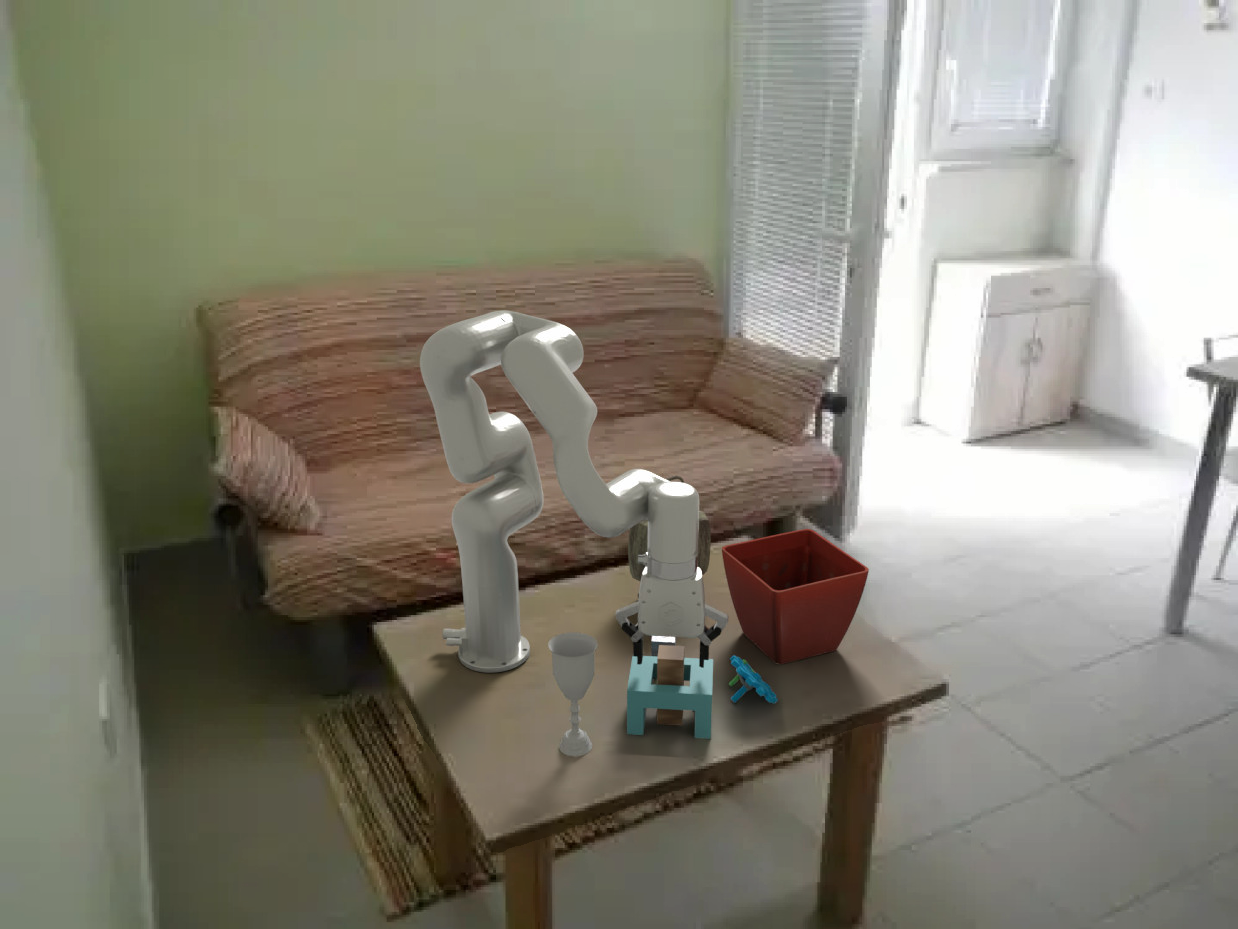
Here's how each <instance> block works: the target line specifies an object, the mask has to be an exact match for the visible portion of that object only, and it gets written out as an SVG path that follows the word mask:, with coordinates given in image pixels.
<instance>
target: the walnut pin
mask: <svg viewBox="0 0 1238 929" xmlns="http://www.w3.org/2000/svg"><path fill="white" fill-rule="evenodd" d="M684 658H685V645H683V646H682V645H676V646H669V645H659V650H658V657H657V679H656V685H675V686H685V684H684V683H685V682H684ZM683 717H684V710H674V709H656V725H665V726H666V725H668V726H669V725H670V726H683V720H684V719H683Z"/></svg>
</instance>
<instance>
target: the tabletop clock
mask: <svg viewBox="0 0 1238 929" xmlns="http://www.w3.org/2000/svg"><path fill="white" fill-rule="evenodd" d="M665 479H666V480H668V481H671V482H672V481H674V480H679V481H680V482H682V483H685V481H684V478H683V477H682V476H679V475H673V476H669V477H667V478H665ZM711 542H712V539H711V524H710V521H709V519H708V517H707V515H706V513H705V512H703V511H701V510H699V530H698V566H697V567H699V568H700V570H701V572H702V576H704V575H705V574H706V572H708V569H709V566H710V559H711ZM646 552H648V520H645V521H642V522H639V523H637V524H636V525H635V526H633V527H632V528H630V529H629V533H628V546H627V553H628V554H627V555H628V556H627V557H628V568H629V571H630V572H629V573H630V576H631V578H632V579H633V580H636V581H638V582H641V577H642V573H643V571H644V568H645V567H646V566H645V565H643V564H638V555H643V554H646ZM637 599H638V600H639V592H638V593H637Z"/></svg>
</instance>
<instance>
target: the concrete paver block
mask: <svg viewBox="0 0 1238 929" xmlns="http://www.w3.org/2000/svg"><path fill="white" fill-rule="evenodd" d="M650 641H651V644H650V646H651V647H650V651H651V652H650V653H651V656H656V657H658V650H659V645H669V646H677V637H666V636H651V640H650Z"/></svg>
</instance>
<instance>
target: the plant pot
mask: <svg viewBox="0 0 1238 929" xmlns="http://www.w3.org/2000/svg"><path fill="white" fill-rule="evenodd" d="M721 555H722V561H723V567H724V571H725V577H726V581H727V587H728V590H729V595H730V598H731V601H732V604H733V608H734V611H735V614H736V617H737V620H738V622H739V625H740V628H741V631H742V633H743V635H745V636H746V638H748V639H749V640H750V641H751V642H752V643H753V644H754V645H755V646H756V648H758V649H760V651H762V652H763V653H764V654H765V655H766V656H767V657H768V658H769V659H770V660H771V661H772V662H774V663H775V664H777V665H783V664H787V663H791V662H797V661H800V660H803V659H808V658H810V657H811V658H812V657H815V656H819V655H822V654H827V653H831V652H835V651H837V649H838V648H839V646H840V645H841V644H842V641H843V640H844V638H845V636H846V634H847V632H848V631H849V628H850V626H851V624H852V622H853V620H854V617H855V615H856V612H857V611H858V607H859V605H860V602H861V600H862V599H861V598H862V597H863V596H862V595H863V593H864V590H865V586H866V583H867V581H868V580H867V579H868V576H869V570H870V569H869V567H867V566H866V565H864V563H862V562H860V561H859V560H857V559H856V558H855V557H853V556H852V555H850V554H848V553H847V552H845V551H844V550H843V549H841V548H839V547H838V546H837V545H835V544H834V543H833V542H831V541H829V540H828V539H826V538H825V537H823V535H821V534H819V532H816V531H815V530H814V529H811V528H804V529H798V530H797V529H796V530H794V531H788V532H783V533H779V534H774V535H769V536H764V537H759V538H755V539H751V540H746V541H741V542H735V543H731V544H726V545H724V546H722V547H721Z"/></svg>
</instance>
